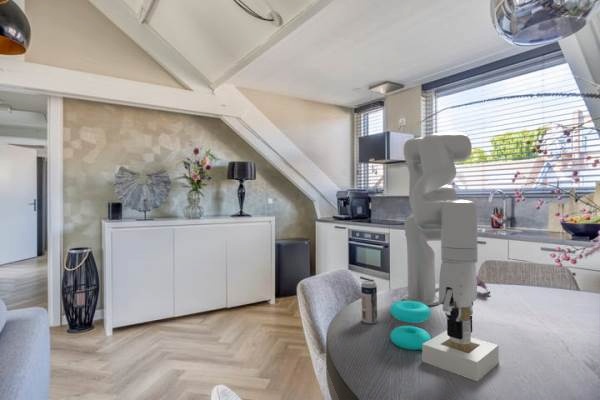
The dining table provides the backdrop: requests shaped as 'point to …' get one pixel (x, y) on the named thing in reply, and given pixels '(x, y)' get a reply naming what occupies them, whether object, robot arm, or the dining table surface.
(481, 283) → the lily
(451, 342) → the sprinkles bottle
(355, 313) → the dining table surface
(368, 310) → the beer can
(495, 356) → the socket block
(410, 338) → the donuts
